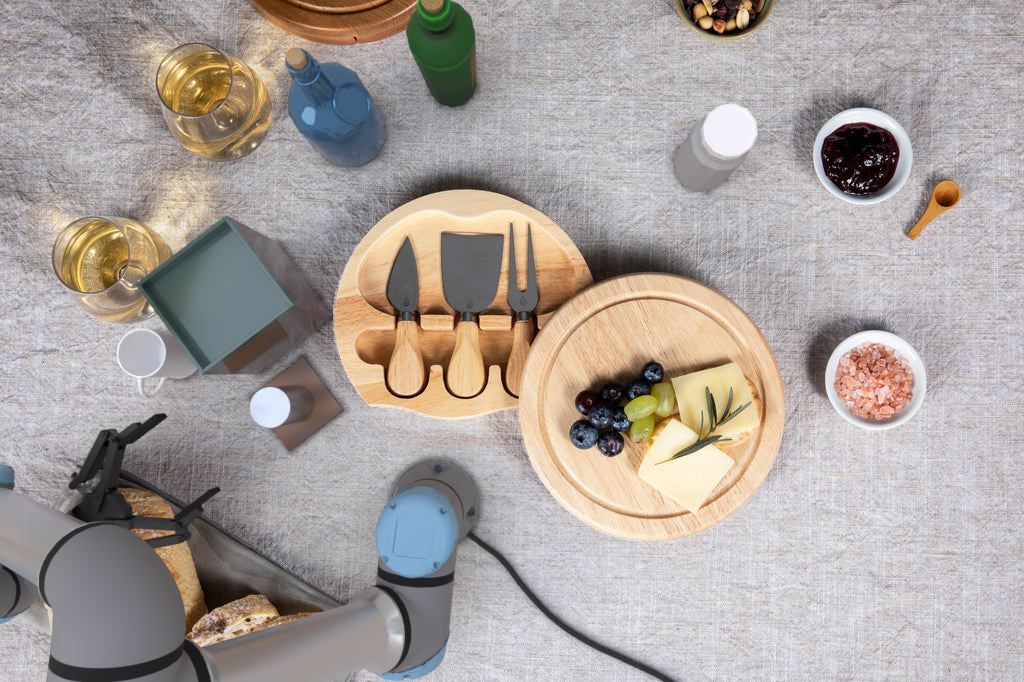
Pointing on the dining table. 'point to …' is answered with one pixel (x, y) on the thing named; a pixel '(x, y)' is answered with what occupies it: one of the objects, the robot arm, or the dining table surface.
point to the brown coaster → (323, 403)
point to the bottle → (444, 50)
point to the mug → (153, 357)
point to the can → (281, 405)
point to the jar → (716, 147)
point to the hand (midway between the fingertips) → (188, 452)
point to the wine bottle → (333, 110)
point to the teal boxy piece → (233, 300)
